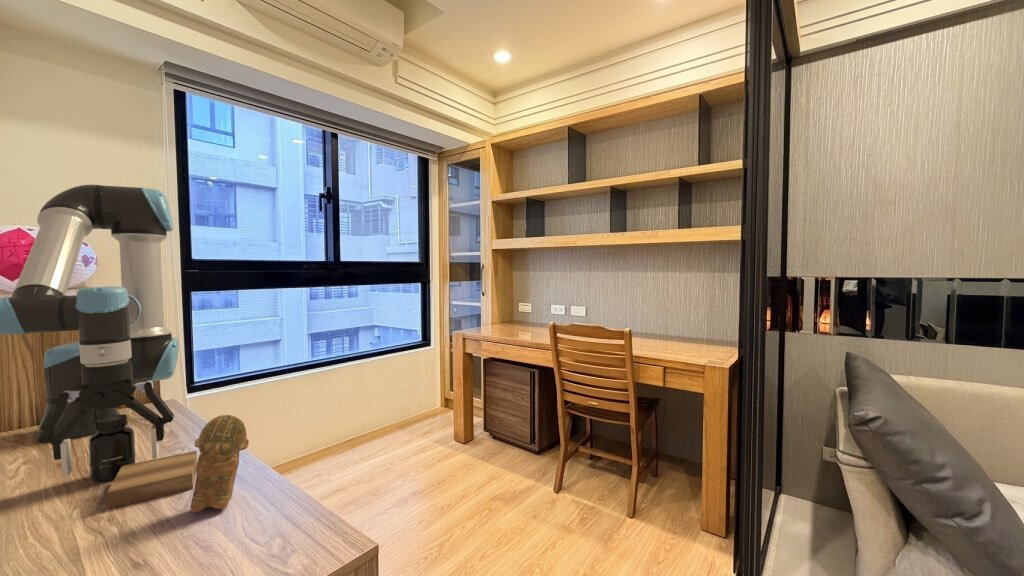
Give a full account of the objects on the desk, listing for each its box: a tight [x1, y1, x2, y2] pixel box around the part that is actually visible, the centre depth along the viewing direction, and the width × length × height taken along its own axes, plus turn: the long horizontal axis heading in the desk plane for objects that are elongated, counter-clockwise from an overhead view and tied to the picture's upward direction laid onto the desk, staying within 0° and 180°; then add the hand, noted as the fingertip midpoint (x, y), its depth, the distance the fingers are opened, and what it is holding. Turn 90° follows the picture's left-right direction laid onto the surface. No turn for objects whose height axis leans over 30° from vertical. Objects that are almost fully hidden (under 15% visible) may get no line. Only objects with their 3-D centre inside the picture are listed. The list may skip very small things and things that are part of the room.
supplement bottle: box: [88, 413, 136, 483], centre depth 86 cm, size 7×7×12 cm
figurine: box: [190, 414, 250, 513], centre depth 76 cm, size 8×8×15 cm
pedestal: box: [106, 450, 198, 510], centre depth 83 cm, size 12×12×3 cm
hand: (113, 464), depth 87 cm, fingers open, 13 cm apart
